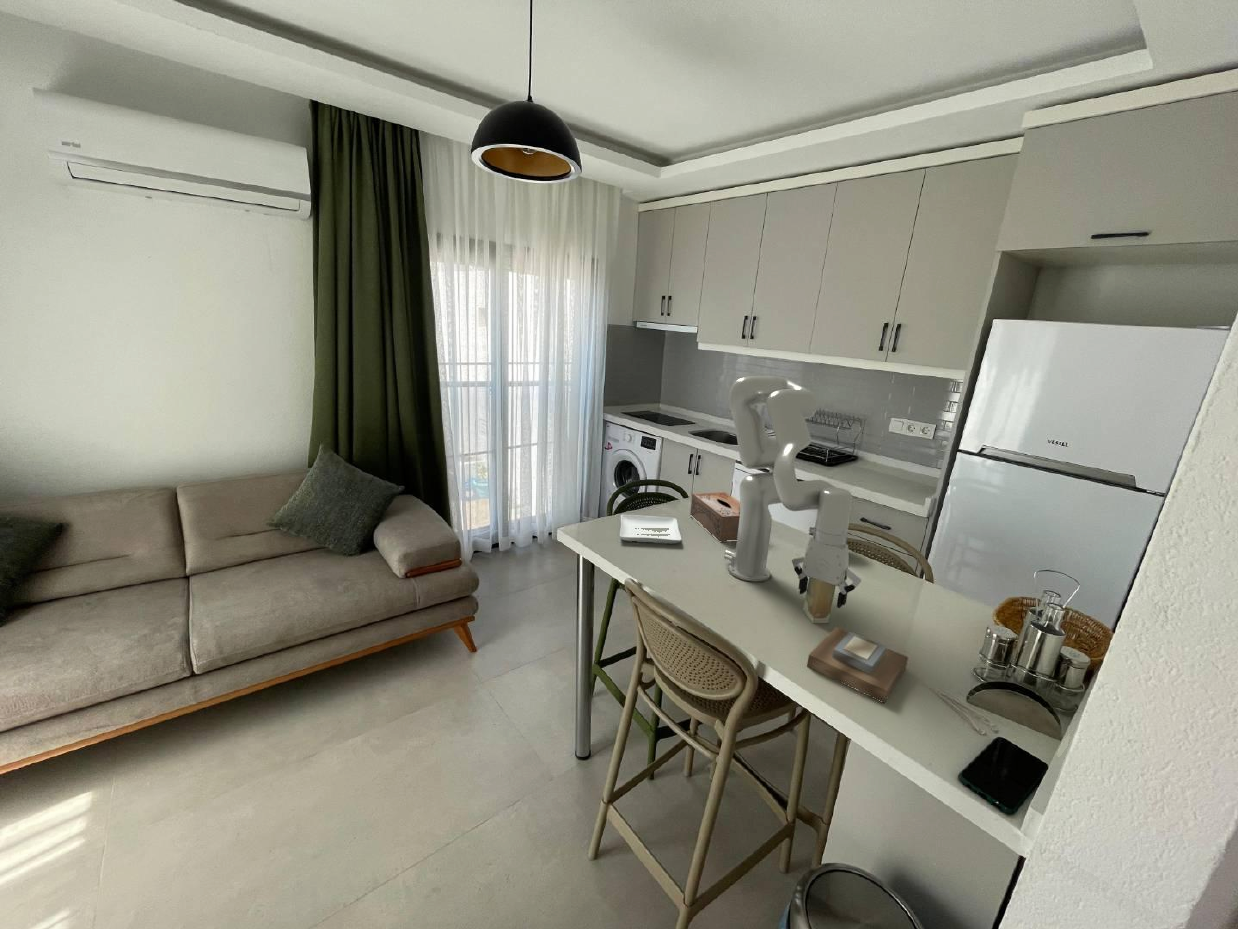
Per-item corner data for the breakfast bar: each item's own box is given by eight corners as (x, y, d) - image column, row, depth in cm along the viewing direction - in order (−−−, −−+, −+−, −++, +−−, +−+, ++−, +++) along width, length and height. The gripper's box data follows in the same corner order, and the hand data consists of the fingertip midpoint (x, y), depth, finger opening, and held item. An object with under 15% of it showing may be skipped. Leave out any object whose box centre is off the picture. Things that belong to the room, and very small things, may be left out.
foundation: (806, 666, 113) (810, 646, 111) (833, 637, 124) (837, 619, 123) (884, 703, 102) (888, 681, 101) (905, 668, 114) (910, 648, 112)
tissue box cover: (689, 517, 202) (692, 493, 199) (722, 515, 206) (725, 492, 203) (719, 543, 178) (722, 516, 175) (755, 540, 182) (759, 514, 179)
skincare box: (802, 610, 136) (809, 569, 133) (817, 610, 136) (825, 569, 133) (813, 624, 130) (820, 580, 126) (829, 624, 130) (837, 581, 127)
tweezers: (998, 733, 97) (1000, 724, 96) (980, 738, 95) (982, 729, 95) (920, 679, 113) (921, 671, 113) (904, 683, 112) (905, 675, 111)
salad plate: (681, 548, 172) (682, 539, 171) (619, 545, 172) (619, 535, 171) (675, 525, 193) (676, 517, 192) (619, 522, 193) (620, 514, 192)
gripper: (790, 531, 130) (782, 592, 134) (861, 551, 119) (850, 617, 122) (802, 524, 135) (795, 583, 139) (871, 543, 124) (860, 606, 128)
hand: (821, 599), depth 131 cm, fingers open, 9 cm apart
